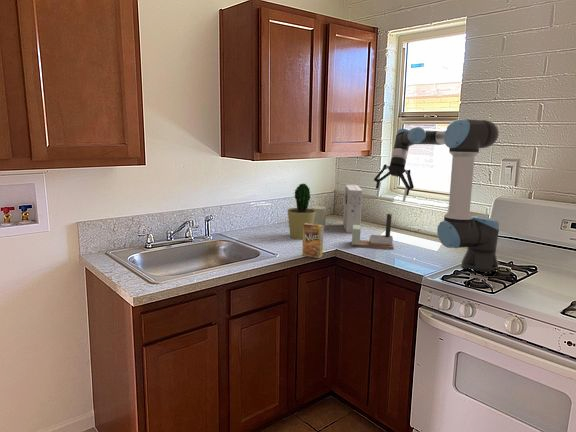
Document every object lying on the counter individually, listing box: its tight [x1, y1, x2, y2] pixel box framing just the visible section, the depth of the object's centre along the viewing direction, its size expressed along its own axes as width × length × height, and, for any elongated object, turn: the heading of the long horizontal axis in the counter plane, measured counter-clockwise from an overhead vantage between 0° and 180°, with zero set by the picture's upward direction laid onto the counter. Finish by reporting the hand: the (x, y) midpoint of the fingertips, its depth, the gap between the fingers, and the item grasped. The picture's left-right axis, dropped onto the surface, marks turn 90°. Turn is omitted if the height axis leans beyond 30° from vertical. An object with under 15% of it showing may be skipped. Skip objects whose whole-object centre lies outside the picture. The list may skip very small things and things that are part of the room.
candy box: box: [301, 223, 325, 259], centre depth 212 cm, size 9×4×15 cm, turn 66°
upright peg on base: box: [368, 213, 392, 242], centre depth 233 cm, size 3×11×15 cm, turn 81°
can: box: [310, 205, 327, 228], centre depth 275 cm, size 9×9×12 cm
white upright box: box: [342, 184, 363, 234], centre depth 269 cm, size 22×8×25 cm, turn 179°
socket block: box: [351, 224, 362, 245], centre depth 236 cm, size 10×4×8 cm, turn 171°
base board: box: [351, 239, 394, 250], centre depth 236 cm, size 10×21×1 cm, turn 81°
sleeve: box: [370, 234, 394, 245], centre depth 234 cm, size 4×11×4 cm, turn 81°
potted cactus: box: [286, 182, 316, 240], centre depth 246 cm, size 15×15×30 cm
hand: (390, 198), depth 231 cm, fingers open, 13 cm apart
